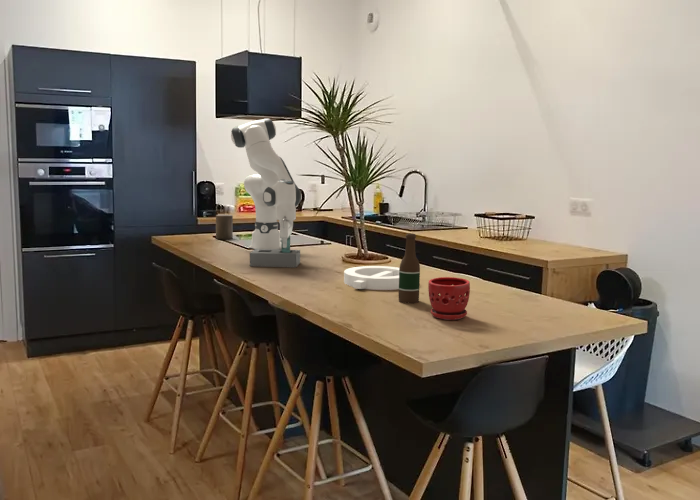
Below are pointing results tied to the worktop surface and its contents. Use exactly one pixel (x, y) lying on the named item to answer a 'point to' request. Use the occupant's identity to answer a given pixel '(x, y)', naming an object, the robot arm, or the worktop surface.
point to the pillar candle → (224, 226)
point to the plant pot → (449, 297)
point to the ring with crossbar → (372, 277)
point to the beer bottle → (409, 273)
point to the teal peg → (287, 249)
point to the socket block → (274, 258)
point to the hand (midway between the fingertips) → (285, 246)
